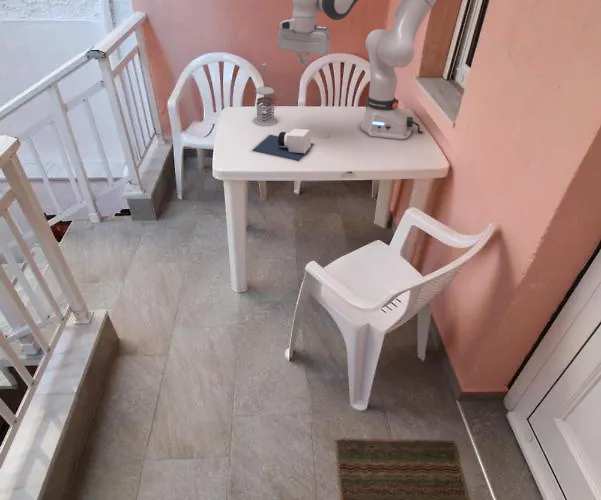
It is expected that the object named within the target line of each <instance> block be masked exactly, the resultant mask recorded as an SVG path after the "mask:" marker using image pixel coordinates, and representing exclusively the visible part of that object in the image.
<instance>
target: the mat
mask: <svg viewBox="0 0 601 500" xmlns="http://www.w3.org/2000/svg"><path fill="white" fill-rule="evenodd" d="M278 136H279V135H278ZM278 136H277V135H274V134H269V135H268V136H267V137H266V138H265V139H263V140H262V141H261V142H260V143H259V144H258V145H256V147H254V148H253V149H252V151H253V152H257V153H261V154H267V155H270V156H276V157H280V158H284V159H288V160H294V161H297V162H299V161H300V160H301V159H302V158H303V157H304V156H305V154H306V153H307V152H308V151H309V150H310V149H311V148H312V147H313V146H314V143H312V142H311V147H310V148H309V149H308V150H307V151H306V152H305V153H294V152H289V151H288V148H282V147H280V146H279V145H278Z"/></svg>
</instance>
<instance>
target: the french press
mask: <svg viewBox="0 0 601 500" xmlns="http://www.w3.org/2000/svg"><path fill="white" fill-rule="evenodd" d="M261 67H262V68H263V79H264V80H263V81H264V84H263V85H264V86H259V87H258V88H256V89H255V93H256V94H258V95H261V96H262V97H261V96H260V97H258V98H257V99H256V101H257V102H256V118H255V120H254V123H255V124H257V125H260V126H273V125H274V124H276V123H277V120H276V119H275V109H276V108H277V107H278V105H279V102H277V101H275V103H274V99H273V98H272V97H273V96H275V97H276V98H279V96H278V95H279V94H277V93H276V92H275V90H274V89H273V88H272V87H270V86H266V72H265V71H266V70H265V69H266V67H267V64H266V62H265V63H262V64H261ZM269 95H271V96H272V97H268V96H269ZM276 103H277V104H276Z"/></svg>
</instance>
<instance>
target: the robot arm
mask: <svg viewBox="0 0 601 500" xmlns="http://www.w3.org/2000/svg"><path fill="white" fill-rule="evenodd" d="M358 1H359V0H292V7H293V9H292V15H291V17H290V18H288V19H284V20H283V21H280V22H279V28H280V29H279V30H278V32H277V47H278V49H279V50H284V51H290V52H291V51H292V52H295V55H296V57H297V59H298V65H303V66H307V65H308V60H309V58H310V56H311V55H318V56H319V55H321V56H327V55H328V54H329V52H330V51H331V43H330V40H331V33H332V32H331V30H330V29H329V28H328V27H327V26H321V25H317V18H318V17H317V15H318V13H323V14H324V15H326V16H327V17H328V18H329V19H331V20H333V21H341V20H343V19H345V18H346V17H347V16H348V15H349V14H350V13H351V12H352V9H353V8H354V6H355V5H356V4H357V3H358ZM436 2H437V0H401V2H400V3H399V5H398V7H397V8H396V10H395V14H394V15H395V21H394V25H393V28H392V30H391V31H389V30H387V29H384V28H382V29H381V28H380V29H379V28H378V29H373V30H372V31H370V33H369V34H368V35H367V36H366V38H365V49H366V51H367V55H368V60H369V71H370V80H369V88H368V95H367V96H366V101H365V112H364V117H363V119H362V122H361V124H360V129H361V130H362V131H363V132H365V133H367V134H368V136H369V137H375V138H376V137H377V138H386V139H395V140H406V139H408V138H409V137H410V136H411V135H412V128H413V125H415V126H417V132H418V134H423V130H420V129H421V126H420V124H419V123H418V122H415V121H414V117H413V116H407V115H406V114H405V113H404V112H403V111H402V110H401V109H400V108H399V107H398V106H399V98H398V99H397V98H396V92H397V84H398V76H397V74H396V69H395V68H397V69H402V68H403V69H404V68H406V67H408V65H410V63H411V62H412V60H413V59H414V55H415V47H414V46H415V40H416V37H417V34H418V31H419V29H420V27H421V25H422V24H423V22H424V21H425V19H426V18H427V16H428V14H429V13H430V11H431V9H432V8H433V7H434V5H435V4H436ZM302 53H304V56H305V58H303V57H302Z"/></svg>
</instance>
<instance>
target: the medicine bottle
mask: <svg viewBox="0 0 601 500" xmlns="http://www.w3.org/2000/svg"><path fill="white" fill-rule="evenodd" d="M311 141H312V140H311V131H310V129H308V128H307V129H306V128H293V129H291V130H290V131H289V132H287V131H280V132H279V133H278V145H279V146H280V147H282V148H288V151H289V152H294V153H305V152H306V151H307V150H308V149H309V148H310V147H311V143H312V142H311ZM311 148H312V147H311ZM311 148H310V149H311ZM310 149H309V150H310ZM309 150H308V151H309ZM308 151H307V152H308ZM307 152H306V153H307ZM306 153H305V154H306Z"/></svg>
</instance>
